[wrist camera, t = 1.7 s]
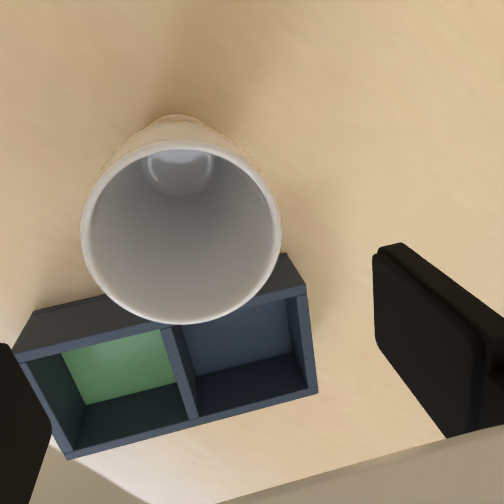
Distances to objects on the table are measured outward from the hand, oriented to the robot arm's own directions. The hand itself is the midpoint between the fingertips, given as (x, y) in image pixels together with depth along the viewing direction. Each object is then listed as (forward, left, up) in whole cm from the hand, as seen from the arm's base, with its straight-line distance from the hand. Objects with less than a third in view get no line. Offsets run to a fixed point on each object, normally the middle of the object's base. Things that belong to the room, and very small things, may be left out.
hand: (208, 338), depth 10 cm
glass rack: (+13, -4, -19) cm, 23 cm away
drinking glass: (-1, 0, -19) cm, 19 cm away
